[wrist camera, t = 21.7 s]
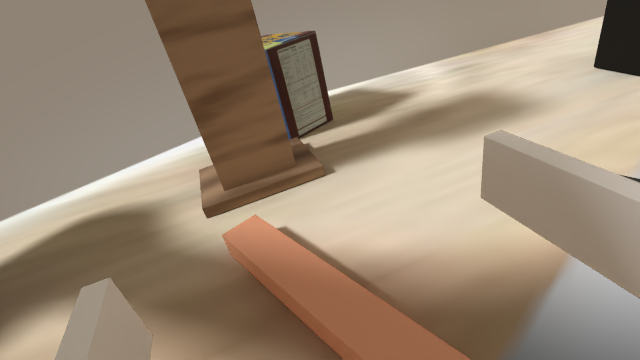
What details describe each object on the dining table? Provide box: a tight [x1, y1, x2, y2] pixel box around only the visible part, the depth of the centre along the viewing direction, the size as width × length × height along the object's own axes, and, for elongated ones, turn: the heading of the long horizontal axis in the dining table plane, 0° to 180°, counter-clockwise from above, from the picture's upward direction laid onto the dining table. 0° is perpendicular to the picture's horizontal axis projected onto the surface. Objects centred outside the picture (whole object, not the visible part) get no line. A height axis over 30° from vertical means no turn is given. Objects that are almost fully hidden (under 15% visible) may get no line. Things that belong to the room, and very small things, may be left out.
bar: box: [222, 215, 471, 360], centre depth 27 cm, size 24×4×3 cm, turn 41°
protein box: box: [261, 31, 333, 140], centre depth 61 cm, size 10×15×16 cm
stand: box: [145, 0, 325, 218], centre depth 41 cm, size 12×16×30 cm
